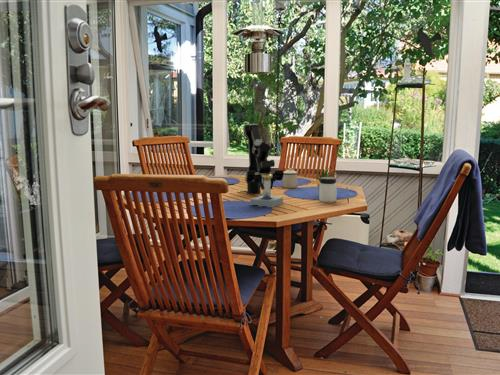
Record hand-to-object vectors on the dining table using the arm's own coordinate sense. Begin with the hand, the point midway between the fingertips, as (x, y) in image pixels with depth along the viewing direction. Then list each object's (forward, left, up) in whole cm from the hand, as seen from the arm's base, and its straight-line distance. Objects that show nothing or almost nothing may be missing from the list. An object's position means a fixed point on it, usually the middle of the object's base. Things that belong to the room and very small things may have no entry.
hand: (267, 189), depth 237 cm
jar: (+23, +23, -8) cm, 34 cm away
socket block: (-1, +1, -8) cm, 8 cm away
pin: (-1, +1, -7) cm, 7 cm away
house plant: (+16, +35, -8) cm, 39 cm away
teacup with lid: (-14, +54, -8) cm, 56 cm away
